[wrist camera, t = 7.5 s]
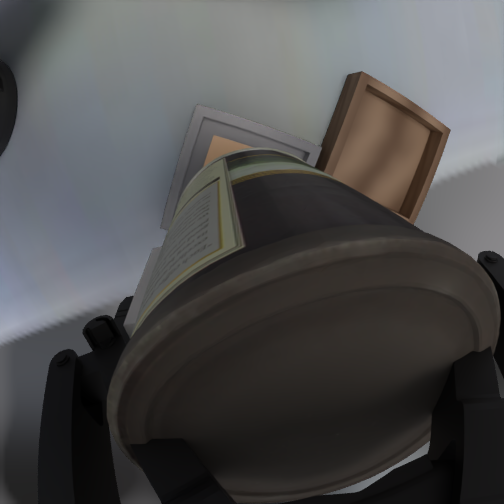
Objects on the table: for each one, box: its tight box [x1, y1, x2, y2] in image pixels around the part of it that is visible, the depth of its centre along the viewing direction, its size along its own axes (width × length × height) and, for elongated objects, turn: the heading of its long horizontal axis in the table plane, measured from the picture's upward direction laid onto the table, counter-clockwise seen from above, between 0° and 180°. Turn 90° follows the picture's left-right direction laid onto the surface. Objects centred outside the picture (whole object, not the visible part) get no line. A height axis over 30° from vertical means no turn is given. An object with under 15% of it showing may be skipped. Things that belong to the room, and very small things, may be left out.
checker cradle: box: [160, 104, 322, 230], centre depth 31 cm, size 13×13×2 cm
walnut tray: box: [315, 71, 450, 225], centre depth 30 cm, size 14×14×4 cm
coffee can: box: [107, 147, 501, 503], centre depth 12 cm, size 10×10×14 cm
